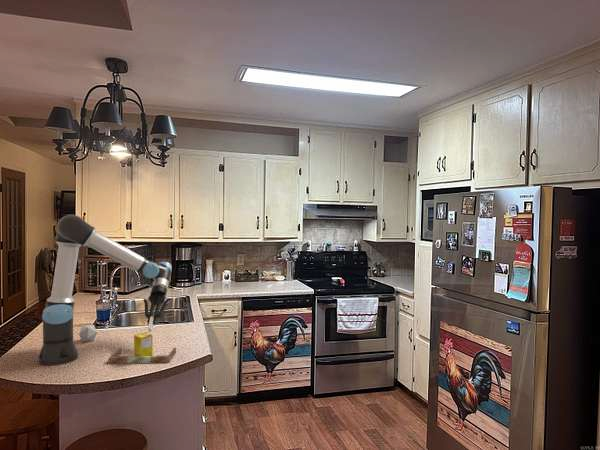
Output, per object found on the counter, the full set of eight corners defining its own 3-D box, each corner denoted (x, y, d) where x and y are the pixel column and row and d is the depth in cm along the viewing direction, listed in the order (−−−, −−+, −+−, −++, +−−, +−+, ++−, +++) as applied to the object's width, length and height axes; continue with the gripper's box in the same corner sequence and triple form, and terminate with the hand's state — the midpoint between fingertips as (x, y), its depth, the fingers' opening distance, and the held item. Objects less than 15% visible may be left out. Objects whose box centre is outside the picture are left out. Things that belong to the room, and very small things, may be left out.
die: (98, 338, 215) (87, 324, 215) (103, 333, 209) (92, 318, 209) (83, 348, 208) (72, 333, 209) (88, 343, 203) (77, 327, 203)
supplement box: (145, 355, 188) (145, 331, 188) (152, 358, 184) (152, 334, 184) (133, 358, 183) (133, 334, 183) (140, 362, 180) (140, 337, 179)
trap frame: (108, 363, 178) (108, 357, 178) (119, 353, 190) (119, 348, 190) (169, 362, 179) (169, 356, 179) (176, 352, 192) (176, 347, 192)
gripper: (173, 292, 213) (165, 333, 197) (148, 292, 213) (137, 334, 196) (171, 284, 208) (162, 325, 192) (145, 284, 207) (133, 326, 191)
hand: (149, 330), depth 194 cm, fingers closed
